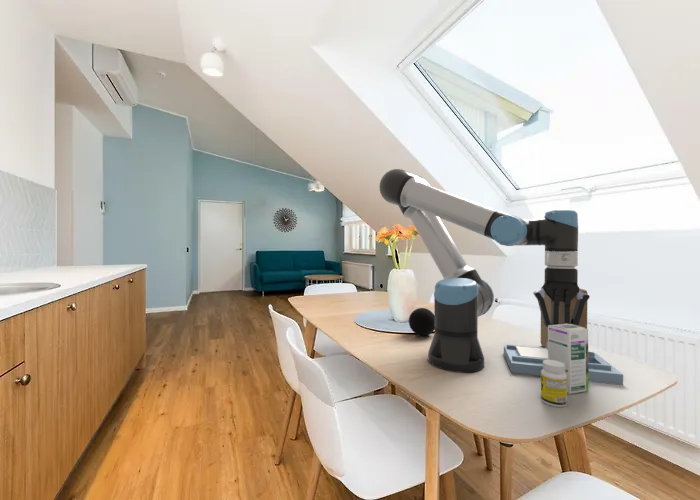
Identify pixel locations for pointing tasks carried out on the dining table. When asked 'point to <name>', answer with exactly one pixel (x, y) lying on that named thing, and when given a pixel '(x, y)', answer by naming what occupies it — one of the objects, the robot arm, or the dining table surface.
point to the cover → (532, 352)
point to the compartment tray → (533, 366)
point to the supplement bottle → (554, 383)
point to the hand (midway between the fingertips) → (560, 353)
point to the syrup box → (570, 354)
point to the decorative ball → (422, 321)
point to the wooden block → (548, 305)
